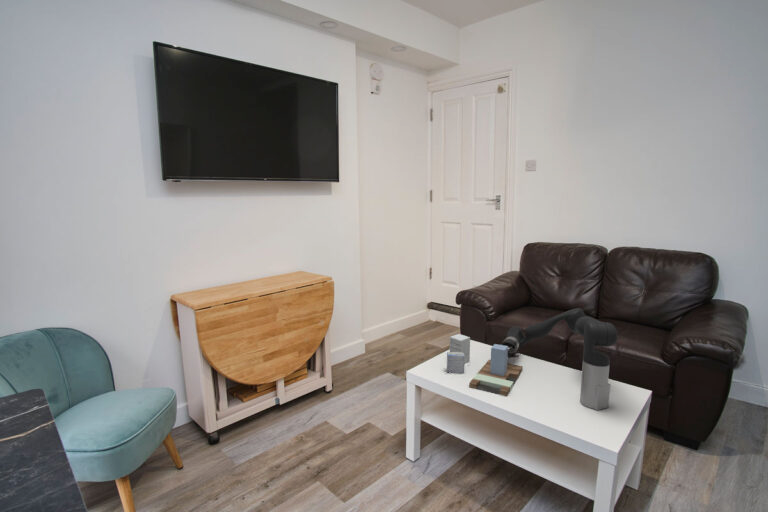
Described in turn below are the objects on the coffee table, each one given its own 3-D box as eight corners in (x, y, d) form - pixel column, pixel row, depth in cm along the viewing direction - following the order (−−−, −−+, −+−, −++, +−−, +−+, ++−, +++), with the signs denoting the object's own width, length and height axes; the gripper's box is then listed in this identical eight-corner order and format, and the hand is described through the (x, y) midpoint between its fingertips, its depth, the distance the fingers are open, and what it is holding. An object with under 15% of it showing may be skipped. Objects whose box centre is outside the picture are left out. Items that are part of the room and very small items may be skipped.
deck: (488, 363, 198) (488, 359, 198) (522, 370, 190) (522, 366, 190) (469, 387, 172) (469, 382, 172) (507, 396, 164) (507, 391, 164)
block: (493, 368, 187) (494, 343, 185) (506, 371, 184) (508, 346, 182) (490, 373, 182) (491, 347, 180) (503, 376, 179) (504, 350, 177)
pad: (477, 377, 182) (477, 373, 181) (513, 385, 174) (513, 381, 173) (472, 382, 176) (473, 378, 176) (509, 391, 169) (510, 387, 168)
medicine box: (463, 369, 190) (463, 352, 189) (464, 373, 186) (464, 355, 185) (446, 369, 191) (446, 351, 190) (447, 372, 187) (447, 355, 186)
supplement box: (458, 357, 206) (459, 333, 204) (469, 361, 200) (470, 337, 198) (448, 360, 201) (449, 336, 199) (460, 365, 195) (461, 340, 194)
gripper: (496, 336, 202) (486, 347, 187) (523, 341, 196) (516, 352, 181) (496, 350, 203) (486, 362, 188) (523, 355, 197) (515, 368, 182)
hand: (500, 357), depth 185 cm, fingers closed
